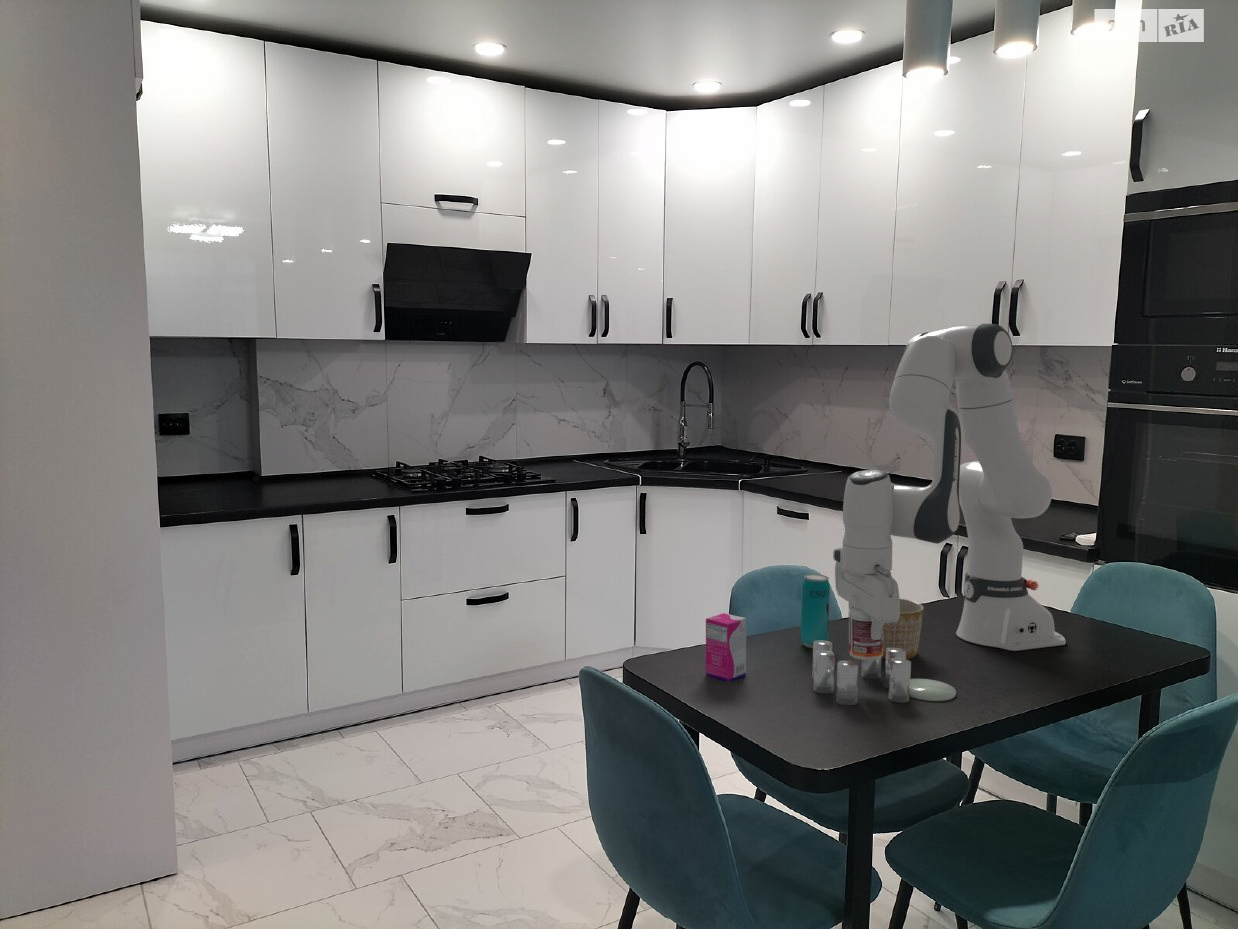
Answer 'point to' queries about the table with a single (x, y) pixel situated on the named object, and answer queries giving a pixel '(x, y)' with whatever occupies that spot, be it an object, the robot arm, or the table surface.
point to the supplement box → (726, 647)
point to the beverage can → (815, 609)
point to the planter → (904, 629)
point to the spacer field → (871, 669)
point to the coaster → (931, 690)
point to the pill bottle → (862, 634)
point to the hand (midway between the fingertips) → (866, 632)
